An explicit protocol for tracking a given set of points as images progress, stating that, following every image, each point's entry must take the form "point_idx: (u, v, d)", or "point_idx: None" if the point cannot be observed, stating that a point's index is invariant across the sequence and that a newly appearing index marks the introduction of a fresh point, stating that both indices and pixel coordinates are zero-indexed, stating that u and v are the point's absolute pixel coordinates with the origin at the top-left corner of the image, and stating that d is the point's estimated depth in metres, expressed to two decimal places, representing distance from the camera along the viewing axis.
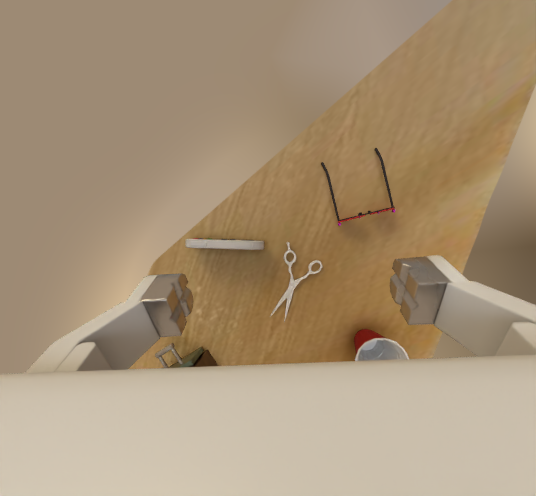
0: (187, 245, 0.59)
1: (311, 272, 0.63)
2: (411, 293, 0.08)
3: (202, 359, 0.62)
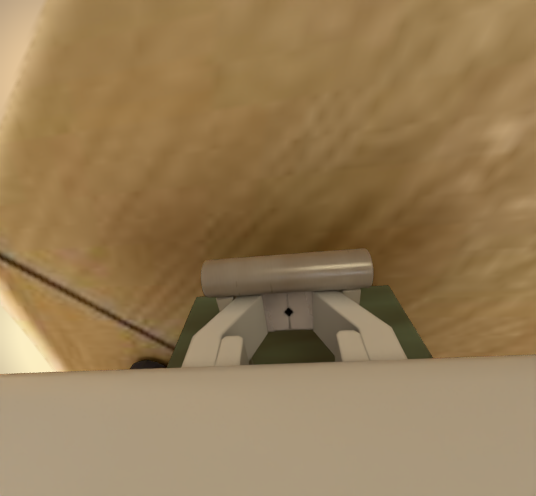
0: None
1: None
2: None
3: None
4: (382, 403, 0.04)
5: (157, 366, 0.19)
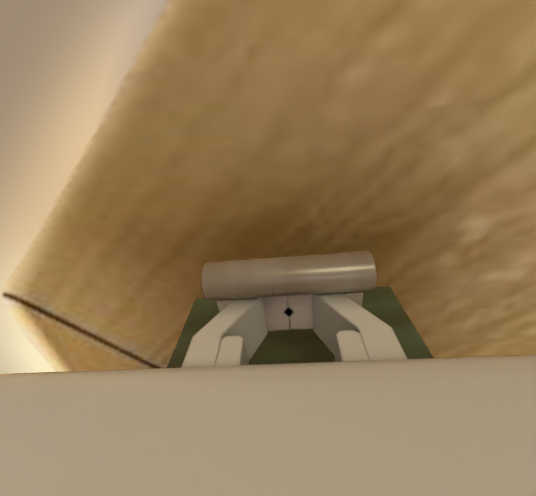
0: None
1: None
2: None
3: None
4: (382, 403, 0.04)
5: None
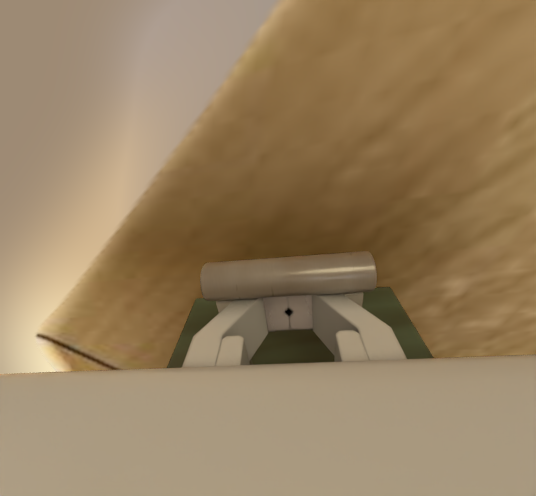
0: None
1: None
2: None
3: None
4: (382, 403, 0.04)
5: None
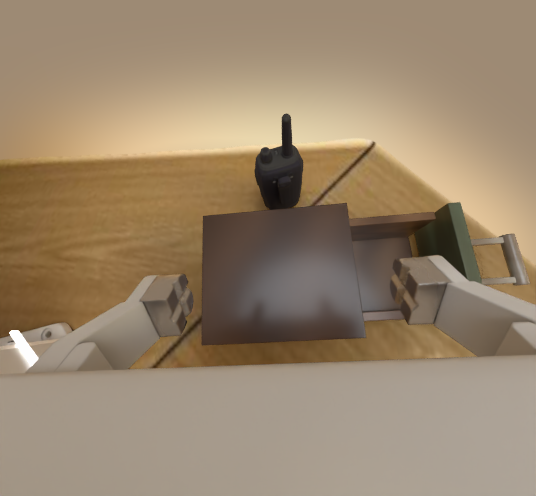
0: None
1: None
2: (411, 293, 0.08)
3: None
4: (382, 403, 0.04)
5: (297, 202, 0.34)
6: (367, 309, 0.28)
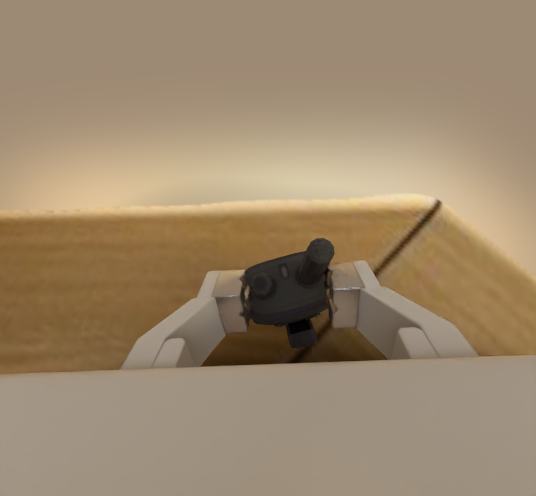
0: None
1: None
2: (332, 298, 0.08)
3: None
4: (382, 403, 0.04)
5: None
6: None
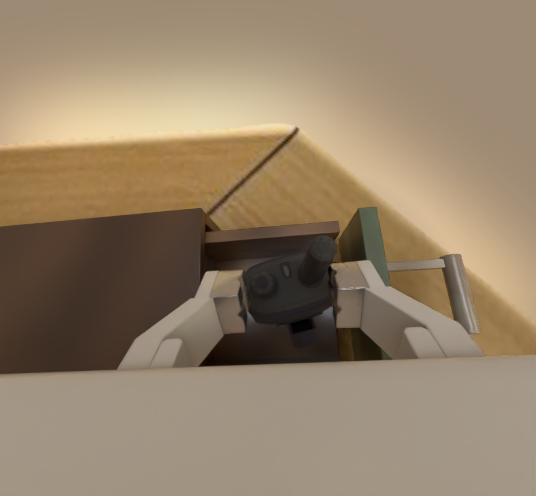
0: None
1: None
2: (336, 297, 0.08)
3: None
4: (382, 403, 0.04)
5: None
6: (263, 357, 0.20)
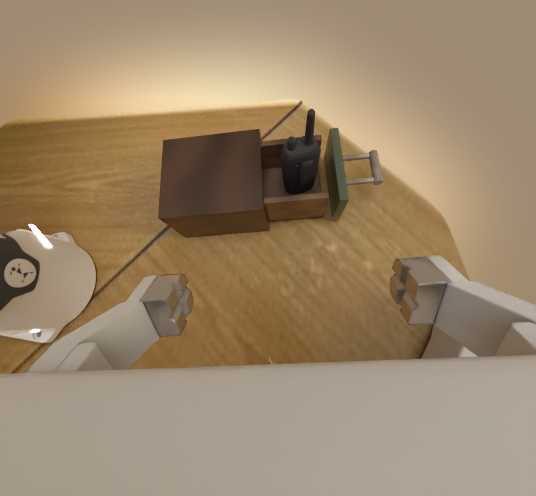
0: None
1: None
2: (411, 293, 0.08)
3: (264, 220, 0.37)
4: (382, 403, 0.04)
5: (312, 186, 0.40)
6: None
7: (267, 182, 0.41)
